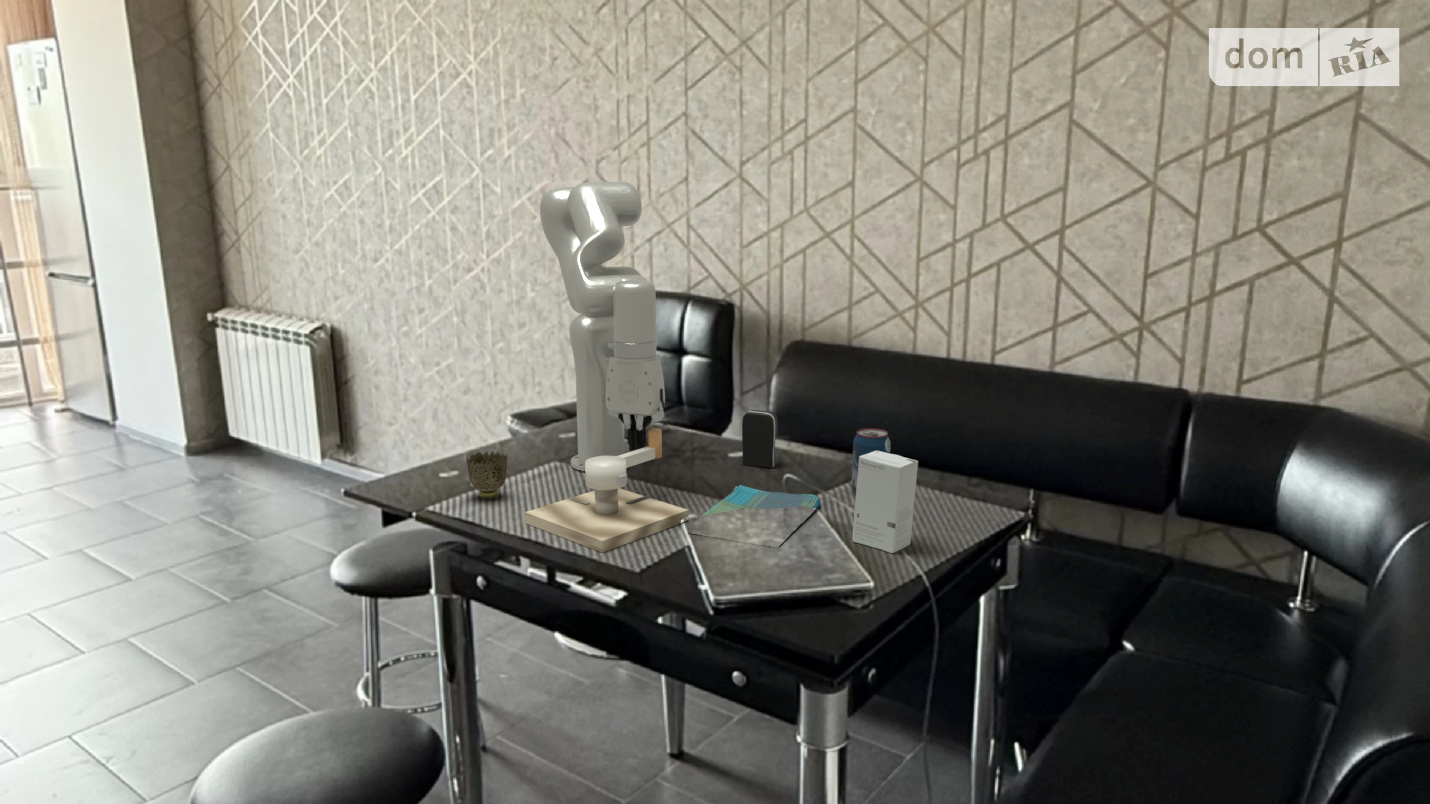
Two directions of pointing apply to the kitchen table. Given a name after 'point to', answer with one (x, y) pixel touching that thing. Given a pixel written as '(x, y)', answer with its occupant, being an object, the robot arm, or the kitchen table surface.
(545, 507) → the post board
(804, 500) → the dish towel
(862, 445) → the soda can
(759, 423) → the battery charger
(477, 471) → the cup
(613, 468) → the crank handle
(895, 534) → the skincare box
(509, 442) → the kitchen table surface
